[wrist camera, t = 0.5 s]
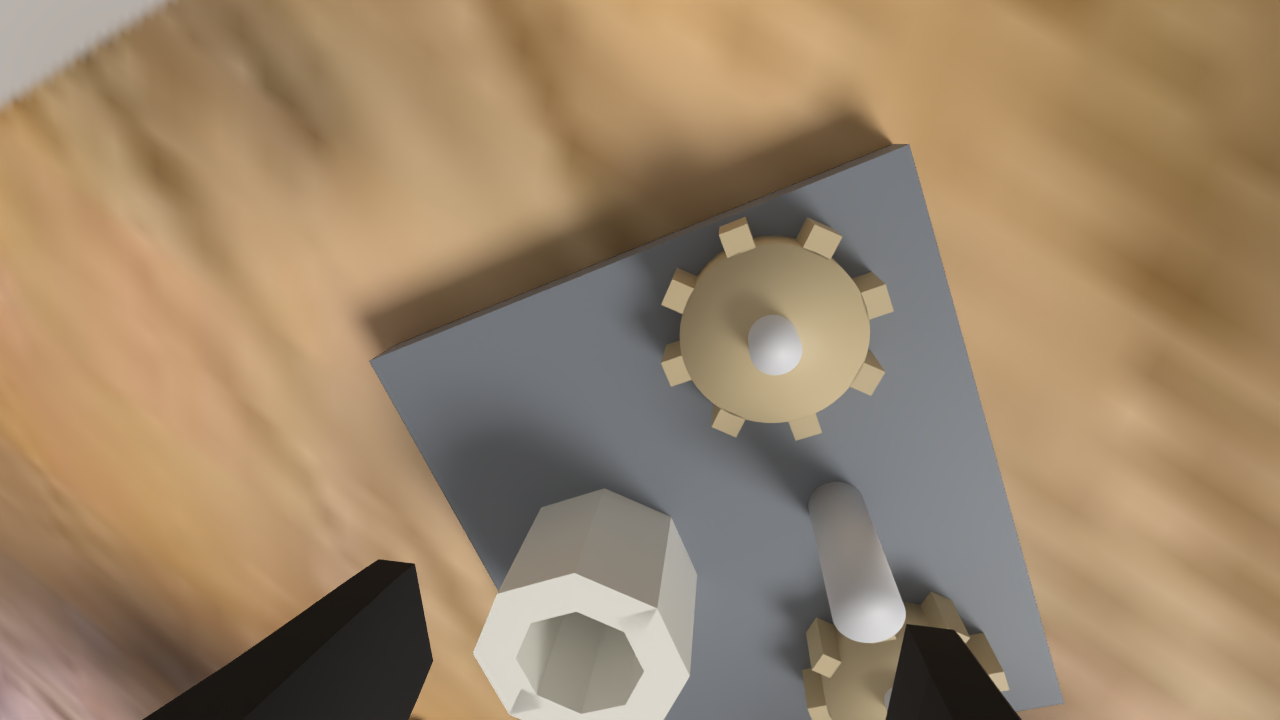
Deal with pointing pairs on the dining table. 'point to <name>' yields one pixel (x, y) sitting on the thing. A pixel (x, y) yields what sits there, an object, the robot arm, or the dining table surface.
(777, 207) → the gear board
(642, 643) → the octagonal pipe segment
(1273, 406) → the dining table surface
